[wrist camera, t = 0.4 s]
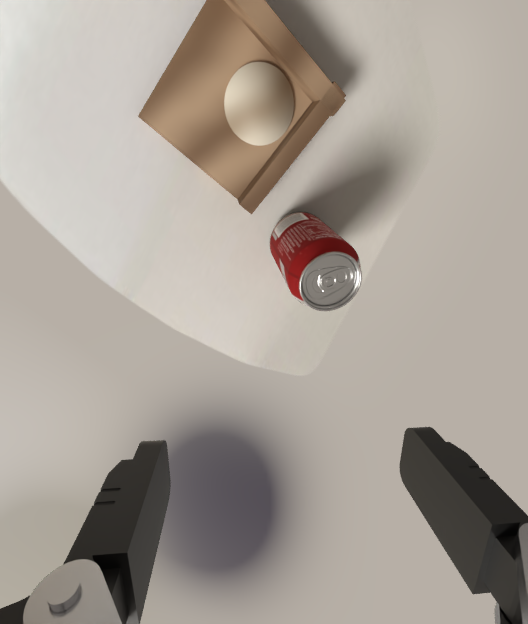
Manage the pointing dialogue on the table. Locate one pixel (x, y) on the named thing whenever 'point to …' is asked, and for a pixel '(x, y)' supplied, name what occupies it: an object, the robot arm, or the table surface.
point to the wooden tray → (241, 98)
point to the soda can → (315, 262)
